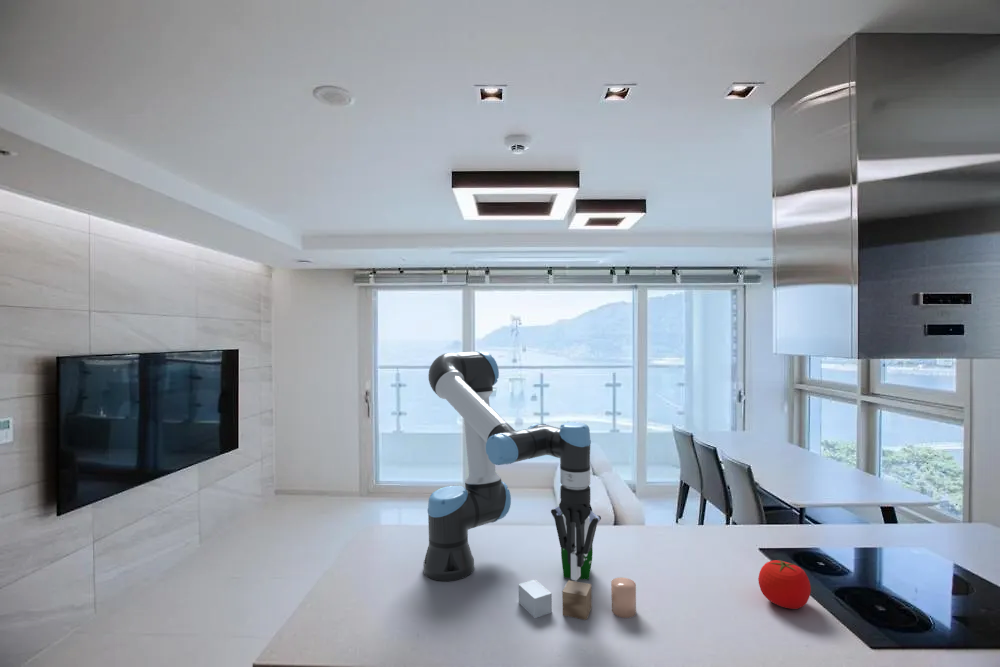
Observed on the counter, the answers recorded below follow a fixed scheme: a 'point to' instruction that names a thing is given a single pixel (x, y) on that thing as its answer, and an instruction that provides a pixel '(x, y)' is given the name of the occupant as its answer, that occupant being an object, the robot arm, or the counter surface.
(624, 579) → the peach domed cylinder
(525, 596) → the grey brick
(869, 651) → the counter surface
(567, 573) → the milk carton
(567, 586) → the walnut cube
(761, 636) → the counter surface
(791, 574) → the tomato
